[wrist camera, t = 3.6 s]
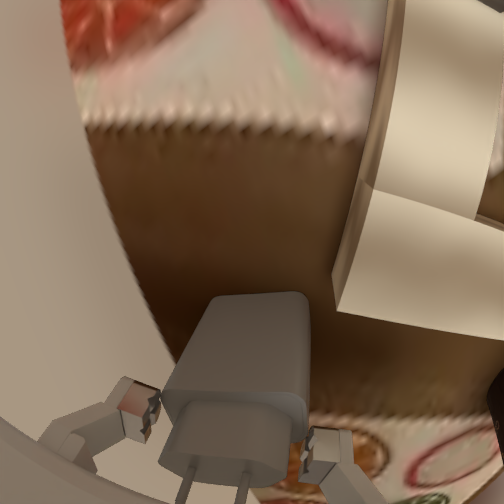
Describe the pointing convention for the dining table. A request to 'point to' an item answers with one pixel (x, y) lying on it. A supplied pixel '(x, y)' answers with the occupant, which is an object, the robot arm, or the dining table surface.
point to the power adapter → (240, 393)
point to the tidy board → (429, 175)
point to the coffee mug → (497, 408)
